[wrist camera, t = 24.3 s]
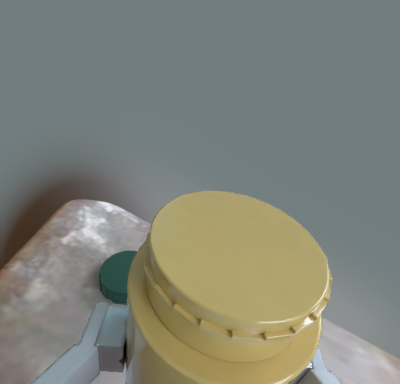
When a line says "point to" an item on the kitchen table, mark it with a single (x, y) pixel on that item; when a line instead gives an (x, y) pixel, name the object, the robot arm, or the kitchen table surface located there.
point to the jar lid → (116, 276)
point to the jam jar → (224, 294)
